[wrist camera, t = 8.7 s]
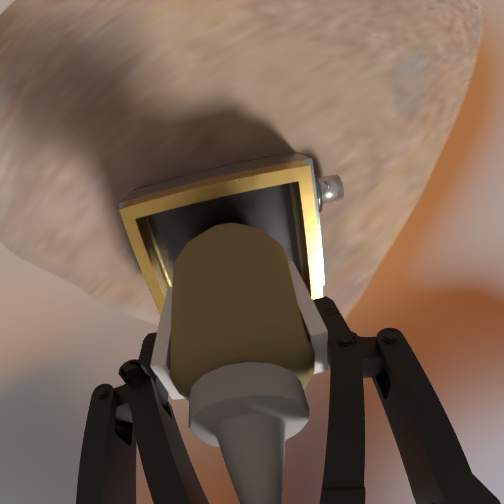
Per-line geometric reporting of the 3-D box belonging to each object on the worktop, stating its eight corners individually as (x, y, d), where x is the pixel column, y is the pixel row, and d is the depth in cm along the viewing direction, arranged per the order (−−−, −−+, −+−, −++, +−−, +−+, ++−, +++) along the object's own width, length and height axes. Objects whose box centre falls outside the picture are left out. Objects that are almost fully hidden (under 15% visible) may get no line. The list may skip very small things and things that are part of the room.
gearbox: (324, 148, 26) (359, 158, 19) (334, 255, 31) (363, 291, 24) (134, 189, 25) (107, 213, 19) (169, 291, 31) (159, 336, 24)
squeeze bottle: (201, 189, 19) (156, 465, 3) (299, 231, 22) (434, 451, 6) (165, 281, 22) (122, 513, 6) (254, 311, 24) (298, 522, 8)
